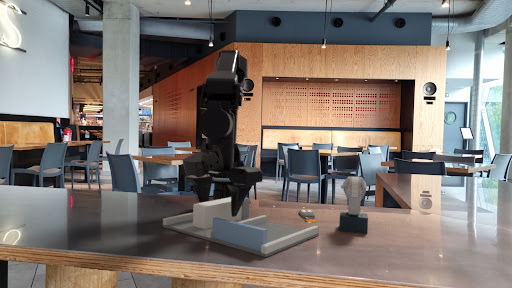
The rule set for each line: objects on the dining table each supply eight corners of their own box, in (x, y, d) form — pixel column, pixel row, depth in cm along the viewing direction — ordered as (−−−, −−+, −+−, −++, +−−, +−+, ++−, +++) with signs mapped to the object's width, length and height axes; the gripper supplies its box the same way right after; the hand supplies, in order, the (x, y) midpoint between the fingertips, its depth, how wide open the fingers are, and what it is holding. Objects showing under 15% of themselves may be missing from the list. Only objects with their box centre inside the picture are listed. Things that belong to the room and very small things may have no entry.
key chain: (296, 214, 92) (297, 208, 92) (311, 215, 93) (312, 209, 92) (306, 228, 79) (306, 222, 79) (323, 229, 80) (324, 222, 80)
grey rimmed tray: (221, 213, 89) (221, 196, 89) (318, 235, 73) (319, 214, 73) (162, 226, 76) (163, 207, 76) (265, 257, 60) (266, 232, 59)
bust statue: (366, 225, 81) (368, 175, 81) (367, 235, 73) (370, 179, 73) (339, 223, 83) (341, 173, 82) (338, 233, 75) (340, 178, 74)
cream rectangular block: (235, 215, 86) (235, 195, 86) (248, 218, 83) (249, 198, 83) (192, 225, 76) (192, 203, 75) (205, 229, 73) (206, 206, 73)
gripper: (160, 136, 77) (158, 211, 78) (226, 140, 66) (224, 228, 66) (200, 136, 86) (198, 204, 87) (265, 140, 74) (263, 218, 75)
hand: (218, 212), depth 79 cm, fingers open, 8 cm apart
